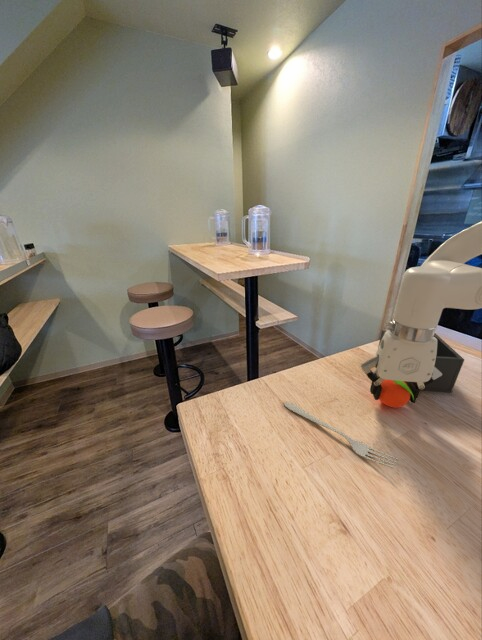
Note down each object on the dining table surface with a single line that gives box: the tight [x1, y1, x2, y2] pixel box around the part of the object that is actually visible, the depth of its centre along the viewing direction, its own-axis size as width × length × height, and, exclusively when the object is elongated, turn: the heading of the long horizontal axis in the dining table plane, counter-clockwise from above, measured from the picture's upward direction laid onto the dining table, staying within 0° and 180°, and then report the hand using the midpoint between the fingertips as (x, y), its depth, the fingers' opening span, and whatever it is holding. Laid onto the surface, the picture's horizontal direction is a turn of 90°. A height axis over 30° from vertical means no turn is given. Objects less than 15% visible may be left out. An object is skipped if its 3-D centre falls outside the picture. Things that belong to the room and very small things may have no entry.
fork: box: [283, 401, 399, 469], centre depth 53 cm, size 3×24×2 cm, turn 45°
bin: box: [377, 329, 465, 393], centre depth 67 cm, size 14×14×10 cm
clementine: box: [378, 379, 414, 409], centre depth 58 cm, size 8×7×7 cm
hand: (392, 396), depth 58 cm, fingers closed on clementine, 7 cm apart
